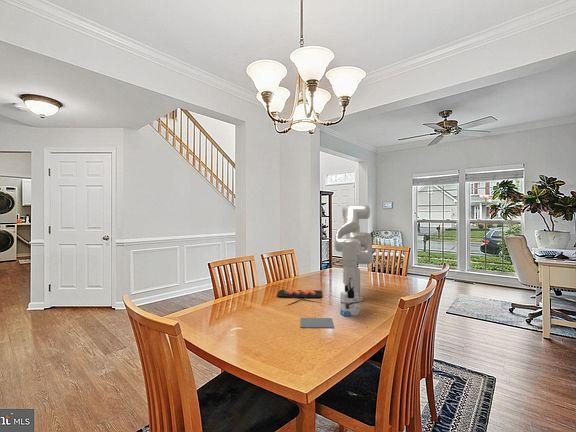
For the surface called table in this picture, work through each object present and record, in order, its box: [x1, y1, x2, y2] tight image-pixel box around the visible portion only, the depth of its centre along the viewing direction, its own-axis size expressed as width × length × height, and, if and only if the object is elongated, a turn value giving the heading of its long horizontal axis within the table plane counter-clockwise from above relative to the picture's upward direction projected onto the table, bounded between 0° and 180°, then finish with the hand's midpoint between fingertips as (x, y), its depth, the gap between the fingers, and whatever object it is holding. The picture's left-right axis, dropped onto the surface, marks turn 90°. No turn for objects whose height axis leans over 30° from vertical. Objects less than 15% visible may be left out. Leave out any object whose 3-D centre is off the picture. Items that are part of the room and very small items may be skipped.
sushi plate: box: [276, 288, 323, 307], centre depth 191 cm, size 29×30×4 cm
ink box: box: [339, 291, 360, 317], centre depth 162 cm, size 8×5×12 cm, turn 105°
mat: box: [299, 317, 335, 329], centre depth 150 cm, size 12×16×1 cm
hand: (349, 295), depth 161 cm, fingers open, 9 cm apart
